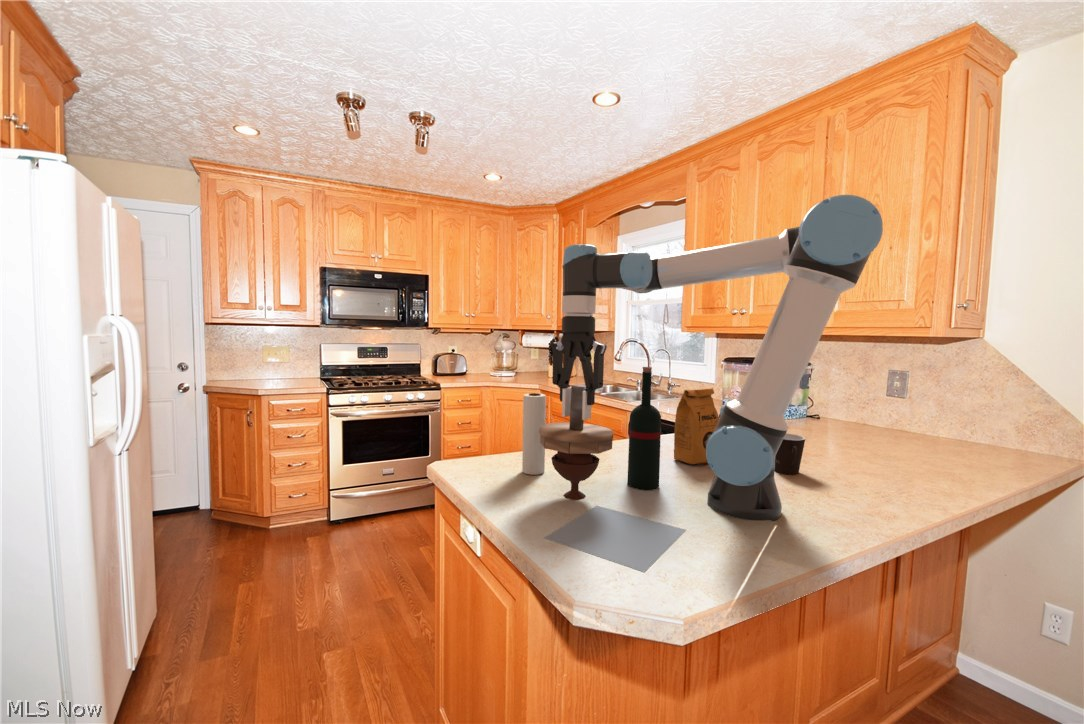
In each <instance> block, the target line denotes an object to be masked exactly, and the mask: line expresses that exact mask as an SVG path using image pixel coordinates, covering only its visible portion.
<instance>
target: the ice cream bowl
mask: <svg viewBox="0 0 1084 724" xmlns="http://www.w3.org/2000/svg"><path fill="white" fill-rule="evenodd" d="M556 452H557V453H555V454H554V455H552V457H551V464H552V466H553V468H554V470H555V471H556V472H557V473H558V474H559V475H560V476H561V477H562V478H563V479H565V480H566V481H569V483H570V490H568V491H566V492H565V493H564V494H563V495H562V496H563V497H564V498H565V499H567V500H570V501H580V500H584V499H585V498H586V497H587V495H586V494H584V493H583V492H582V491H580V490H579V489H580V488H579V486H580V485H579V484H580V482H583V481H586V480H587V479H589V478H590V477H591V476H592V475H593V474H594V473H595V472H596V470H597V468H598V466H599V464H600V458H599V457H598V456H596V454H570V453H564V452H559V451H556Z"/></svg>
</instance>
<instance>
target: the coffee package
mask: <svg viewBox="0 0 1084 724" xmlns="http://www.w3.org/2000/svg"><path fill="white" fill-rule="evenodd" d="M713 394H715V391H714V388H713V387H712V388H702V389H684V391H683V393H682V396H681V398H680V401H679V402H678V404H677V407H676V410H675V411H676V413H675V421H674V432H673V433H674V437H673V438H674V440H673V441H674V442H673V443H674V444H673V459H674V460H675V461H679V462H682V463H683V462H684V463H685V464H688V465H700V464H708V461H707V458H706V444H707V441H708V439H709V437H710V436H711V435H712V433H713V432H714V430H715V428H716V426H717V423H718V421H719V419H720V418H719V414H718V413H719V412H718V410H717V408H716V406H715V403H714V402H715V401H714V400H713V399H714V398H713V397H712V395H713Z"/></svg>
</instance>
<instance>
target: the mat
mask: <svg viewBox="0 0 1084 724" xmlns="http://www.w3.org/2000/svg"><path fill="white" fill-rule="evenodd" d="M686 531H687V529H684V528H680V527H679V526H678V527H677V526H673V525H670V524H667V523H663V522H659V521H656V520H651V519H648V518H644V517H641V516H637V515H634V514H633V515H632V514H630V513H626V512H622V511H619V510H615V509H611V508H608V507H605V506H604V507H603V506H600V505H595V506H594V507H592V508H590V509H588V510H587V511H586V512H584V513H582V514H580V515H579V516H577V517H575V518H574V519H572V520H571V521H569V522H568V523H566V524H564V525H562V526H561V527H560V528H558V529H556V530H554V531H553V532H551V533H549V534H548V535H546V536H544V538H543V539H546V540H548V541H551V542H554V543H557V544H560V545H563V546H566V547H569V548H572V549H575V550H578V551H581V552H583V553H587V554H589V555H592V556H595V557H597V558H601V559H604V560H606V561H609V562H613V563H616V564H619V565H622V566H624V567H628V568H630V569H633V570H635V571H639V572H642V573H646V571H648V570H649V568H650V567H652V565H653V564H654V563H655V562H657V560H658V559H659V558H661V556H662V555H663V554H664V553H665V552H667V551H668V549H669V548H670V547H671V546H672V545H673V544H674V543H675V542H677V540H678V539H679V538H680V537H681V536H682V535H683V534H684V533H685V532H686Z"/></svg>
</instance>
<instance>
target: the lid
mask: <svg viewBox="0 0 1084 724" xmlns="http://www.w3.org/2000/svg"><path fill="white" fill-rule="evenodd" d="M570 386H571V387H570V388H571V405H570V416H569V422H549V423H545V424H544V425H541V426H540V427H539V434H540V443H541V444H542V446H543V447H544V448H545V450H549V451H556V452H558V451H559V452H564V453H570V454H593V455H597V454H599V455H600V454H602V453H604V452H607V451H610V450H612V449H613V441H614V431H613V429H611V428H608V427H605V426H603V425H602V426H601V425H596V424H592V423H585V422H584V421H585V420H582V403H583V391H585V390H584V389H586V386H585V385H570Z"/></svg>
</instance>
